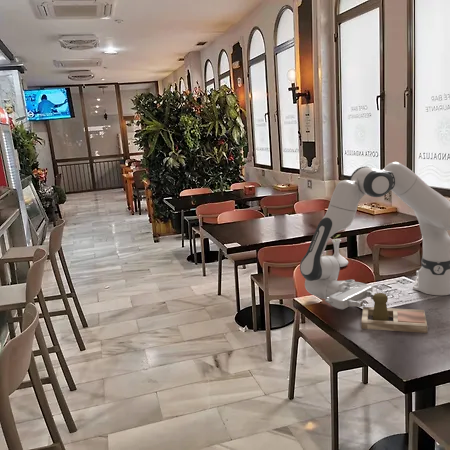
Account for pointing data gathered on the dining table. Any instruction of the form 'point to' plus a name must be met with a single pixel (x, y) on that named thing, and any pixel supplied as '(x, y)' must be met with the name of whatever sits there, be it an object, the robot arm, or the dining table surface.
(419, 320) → the wooden frame
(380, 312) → the cork
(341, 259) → the flower in vase
